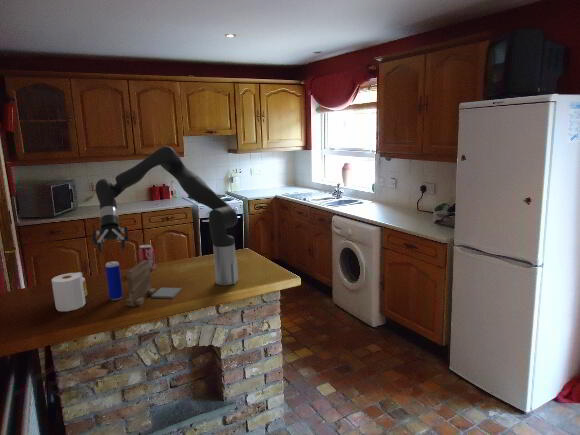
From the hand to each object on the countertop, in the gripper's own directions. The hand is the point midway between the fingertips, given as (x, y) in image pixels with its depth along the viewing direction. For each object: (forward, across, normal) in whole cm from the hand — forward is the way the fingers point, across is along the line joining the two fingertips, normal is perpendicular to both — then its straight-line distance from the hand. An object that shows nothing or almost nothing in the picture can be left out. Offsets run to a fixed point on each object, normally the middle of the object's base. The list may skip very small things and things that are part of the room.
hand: (111, 250), depth 180 cm
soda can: (-2, -14, -27) cm, 31 cm away
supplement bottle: (+14, +14, -11) cm, 23 cm away
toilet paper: (+21, +17, -4) cm, 27 cm away
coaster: (+23, -20, -1) cm, 30 cm away
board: (+24, -10, 0) cm, 26 cm away
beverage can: (+20, 0, -4) cm, 21 cm away
